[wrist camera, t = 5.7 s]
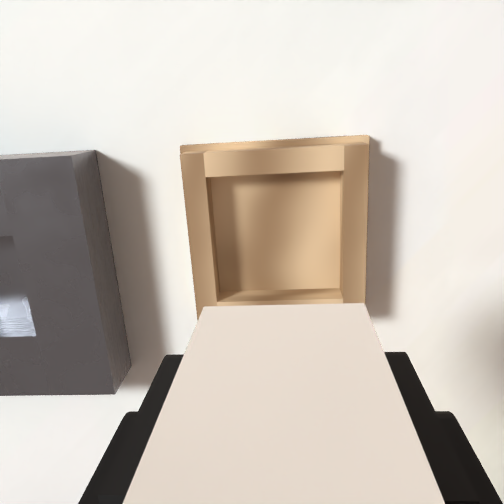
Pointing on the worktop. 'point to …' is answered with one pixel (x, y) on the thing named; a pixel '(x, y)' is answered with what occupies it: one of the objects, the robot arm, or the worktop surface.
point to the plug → (284, 415)
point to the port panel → (57, 279)
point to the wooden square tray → (277, 220)
